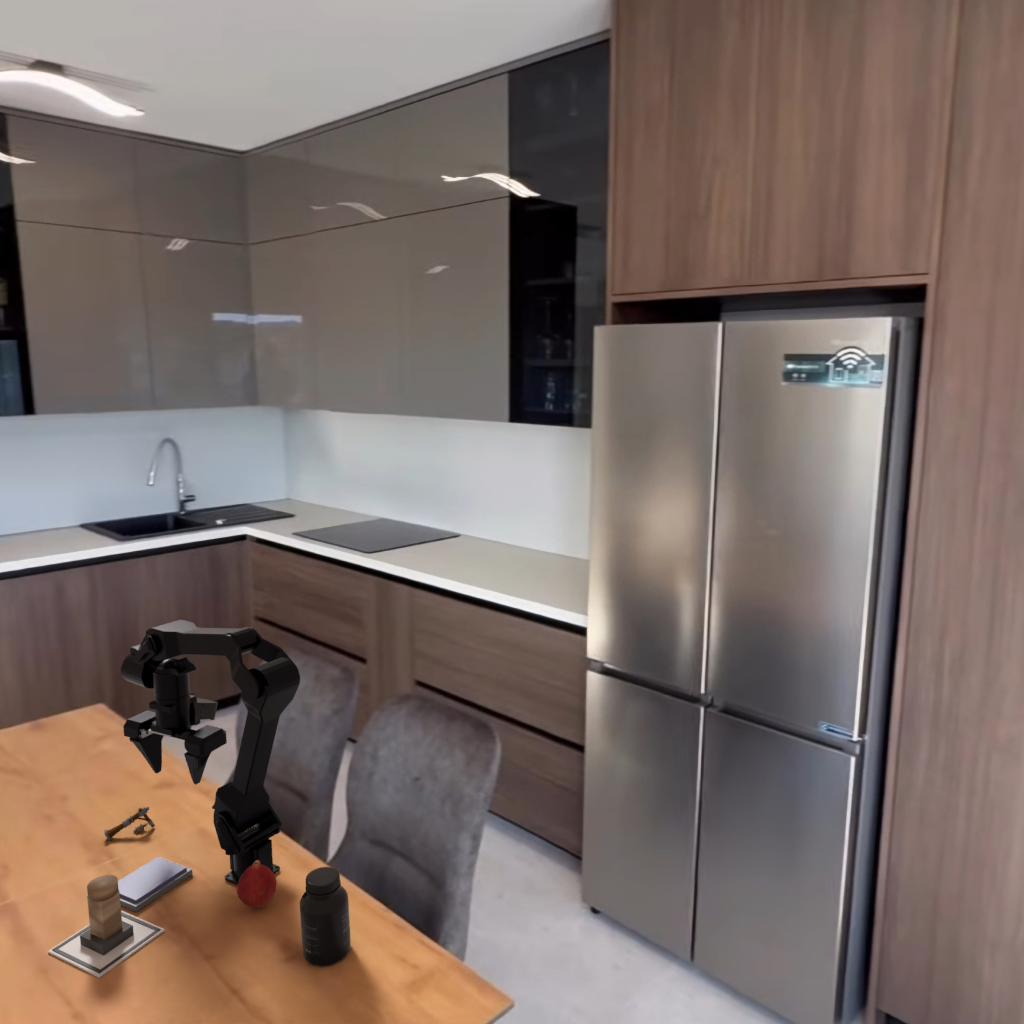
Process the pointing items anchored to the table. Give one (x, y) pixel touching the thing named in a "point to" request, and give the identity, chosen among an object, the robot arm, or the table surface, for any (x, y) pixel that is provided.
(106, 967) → the marked card
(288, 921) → the table surface
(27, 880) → the table surface
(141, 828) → the wooden post with brackets
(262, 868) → the onion
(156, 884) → the ink pad
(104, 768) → the table surface
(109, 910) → the stamp
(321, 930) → the supplement bottle
